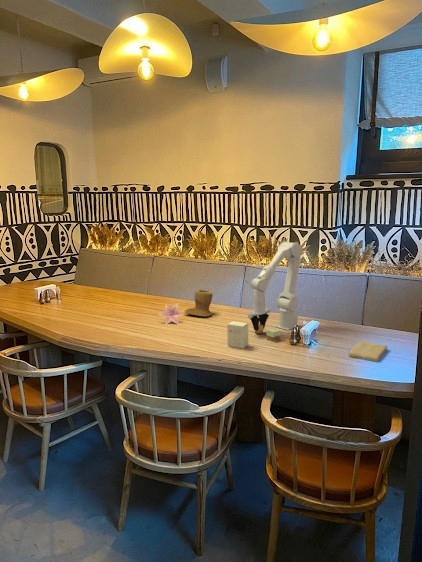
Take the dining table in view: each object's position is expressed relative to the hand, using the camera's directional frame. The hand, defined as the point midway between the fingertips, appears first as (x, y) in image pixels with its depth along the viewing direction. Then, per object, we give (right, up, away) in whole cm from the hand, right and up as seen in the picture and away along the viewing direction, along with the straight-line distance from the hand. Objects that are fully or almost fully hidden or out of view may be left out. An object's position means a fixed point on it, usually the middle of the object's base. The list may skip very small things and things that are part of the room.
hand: (259, 329), depth 204 cm
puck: (0, -1, 0) cm, 2 cm away
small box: (-12, -6, -16) cm, 21 cm away
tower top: (+6, -2, -10) cm, 11 cm away
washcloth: (+43, -8, -28) cm, 52 cm away
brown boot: (-30, +4, +36) cm, 47 cm away
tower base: (+6, -4, -9) cm, 11 cm away
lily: (-45, +1, +22) cm, 51 cm away
